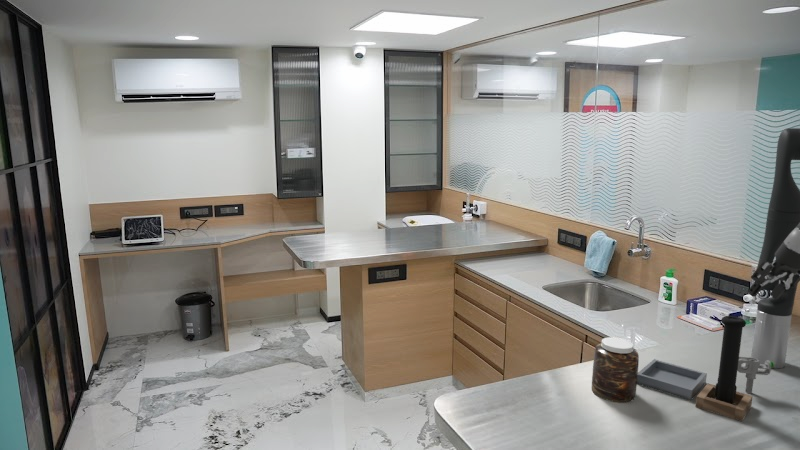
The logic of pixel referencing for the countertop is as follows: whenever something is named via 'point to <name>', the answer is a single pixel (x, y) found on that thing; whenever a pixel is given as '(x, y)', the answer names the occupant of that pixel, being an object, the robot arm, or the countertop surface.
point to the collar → (724, 403)
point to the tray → (671, 379)
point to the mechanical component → (753, 370)
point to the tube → (729, 359)
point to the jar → (615, 370)
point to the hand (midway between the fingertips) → (762, 295)
